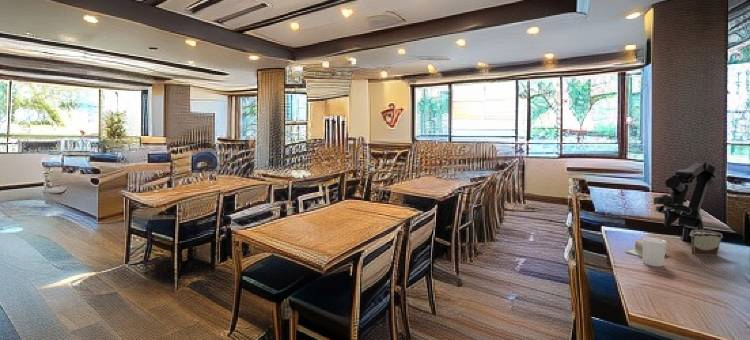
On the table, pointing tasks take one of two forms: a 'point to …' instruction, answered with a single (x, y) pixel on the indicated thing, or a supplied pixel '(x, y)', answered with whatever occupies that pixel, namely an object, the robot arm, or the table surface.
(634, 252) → the rubber mat
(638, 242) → the walnut block
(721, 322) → the table surface
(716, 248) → the food container
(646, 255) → the white cup
